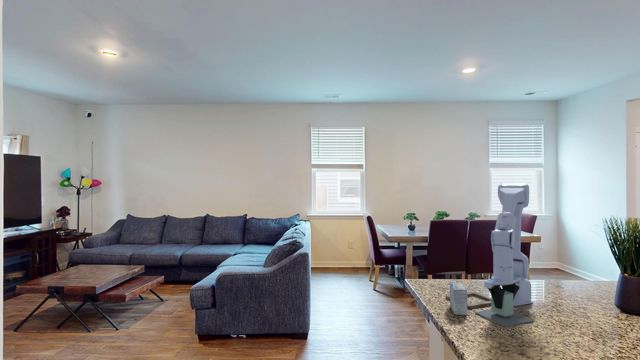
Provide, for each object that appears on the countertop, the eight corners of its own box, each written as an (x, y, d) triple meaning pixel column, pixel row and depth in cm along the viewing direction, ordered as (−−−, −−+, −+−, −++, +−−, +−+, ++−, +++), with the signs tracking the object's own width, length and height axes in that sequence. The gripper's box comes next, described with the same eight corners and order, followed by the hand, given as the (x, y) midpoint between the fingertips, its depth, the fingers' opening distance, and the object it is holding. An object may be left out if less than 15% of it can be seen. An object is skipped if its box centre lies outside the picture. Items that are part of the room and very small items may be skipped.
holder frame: (474, 294, 137) (474, 291, 137) (499, 304, 126) (499, 301, 126) (445, 298, 133) (445, 295, 133) (468, 309, 121) (468, 306, 121)
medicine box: (467, 315, 116) (467, 289, 116) (453, 314, 116) (453, 289, 116) (462, 307, 123) (462, 283, 123) (449, 306, 124) (449, 282, 124)
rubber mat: (502, 308, 121) (502, 307, 121) (533, 321, 110) (533, 320, 110) (475, 313, 117) (475, 312, 117) (505, 327, 106) (504, 325, 106)
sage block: (500, 309, 117) (500, 288, 117) (513, 314, 113) (513, 293, 113) (491, 311, 116) (491, 290, 116) (504, 316, 111) (504, 294, 111)
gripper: (508, 261, 120) (508, 300, 120) (476, 265, 115) (477, 306, 115) (527, 265, 114) (527, 307, 114) (494, 270, 108) (494, 313, 108)
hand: (503, 307), depth 114 cm, fingers closed on sage block, 4 cm apart
